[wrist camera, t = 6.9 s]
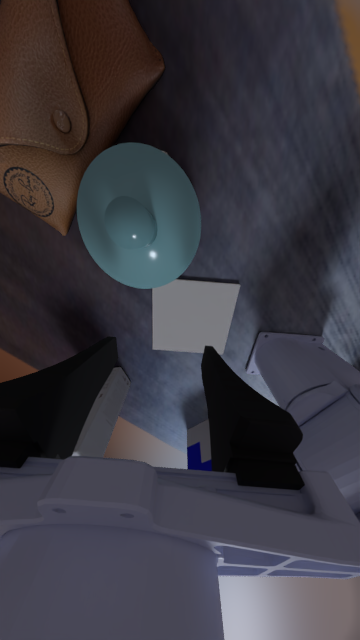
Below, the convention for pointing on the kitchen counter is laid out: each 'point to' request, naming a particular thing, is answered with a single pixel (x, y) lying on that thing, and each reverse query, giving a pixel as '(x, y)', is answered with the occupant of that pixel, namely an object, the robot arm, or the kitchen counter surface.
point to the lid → (138, 215)
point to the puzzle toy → (199, 447)
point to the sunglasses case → (66, 95)
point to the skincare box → (103, 416)
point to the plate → (192, 315)
